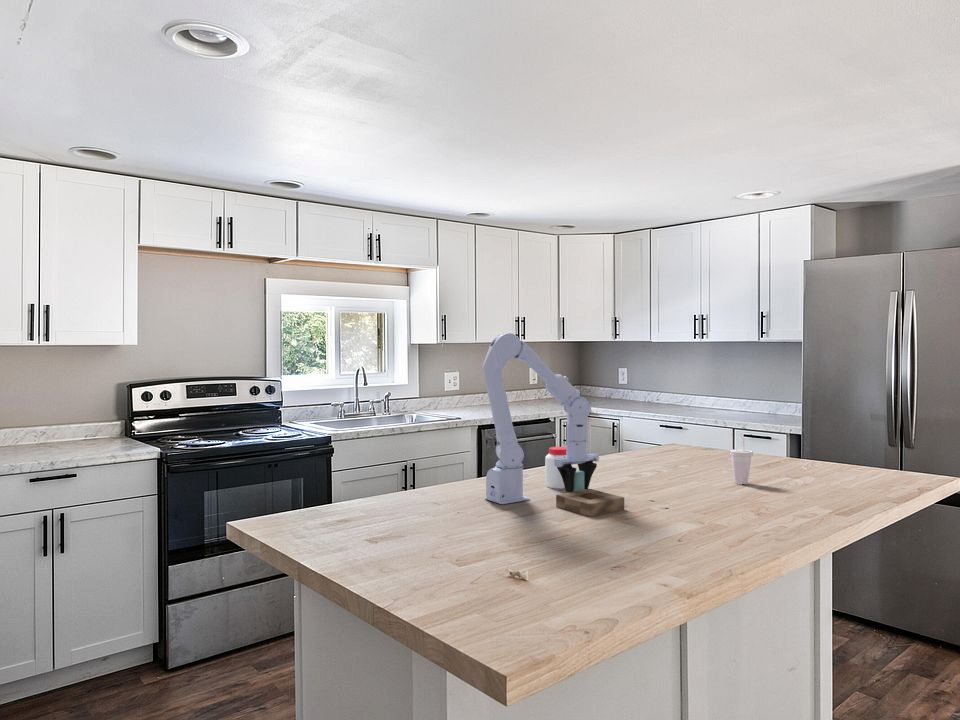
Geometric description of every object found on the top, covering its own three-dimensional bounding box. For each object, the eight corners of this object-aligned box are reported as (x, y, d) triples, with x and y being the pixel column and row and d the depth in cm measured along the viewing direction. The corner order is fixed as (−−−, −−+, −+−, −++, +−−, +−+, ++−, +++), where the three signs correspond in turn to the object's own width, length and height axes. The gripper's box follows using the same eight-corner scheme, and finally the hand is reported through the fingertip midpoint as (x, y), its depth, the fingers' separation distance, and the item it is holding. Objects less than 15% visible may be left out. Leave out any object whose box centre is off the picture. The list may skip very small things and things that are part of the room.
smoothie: (756, 485, 195) (756, 437, 195) (733, 485, 195) (734, 437, 195) (747, 481, 201) (748, 434, 201) (726, 481, 201) (726, 434, 201)
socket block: (589, 516, 161) (589, 504, 161) (556, 506, 171) (556, 494, 171) (624, 509, 168) (624, 497, 168) (590, 500, 178) (590, 488, 178)
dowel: (576, 500, 178) (576, 473, 177) (566, 497, 181) (566, 471, 181) (587, 498, 180) (587, 472, 180) (577, 495, 183) (577, 469, 183)
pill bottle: (563, 489, 190) (563, 451, 190) (540, 486, 195) (540, 448, 194) (576, 485, 196) (576, 447, 196) (553, 481, 201) (554, 445, 200)
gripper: (567, 444, 172) (567, 497, 173) (607, 439, 181) (606, 489, 181) (549, 441, 178) (548, 492, 179) (588, 436, 187) (588, 485, 187)
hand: (576, 490), depth 180 cm, fingers open, 5 cm apart
